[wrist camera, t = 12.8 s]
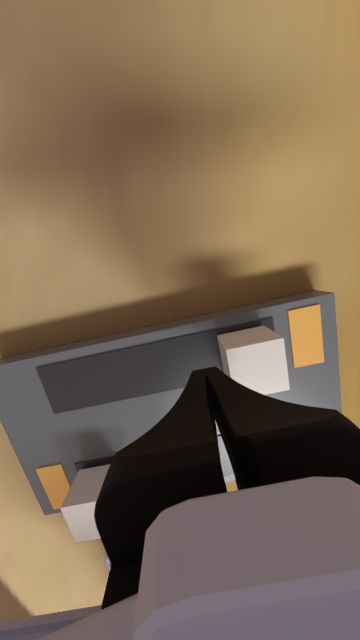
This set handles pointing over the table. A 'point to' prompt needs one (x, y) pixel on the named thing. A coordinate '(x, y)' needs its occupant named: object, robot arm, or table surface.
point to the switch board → (147, 385)
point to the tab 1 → (84, 503)
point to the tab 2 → (255, 359)
